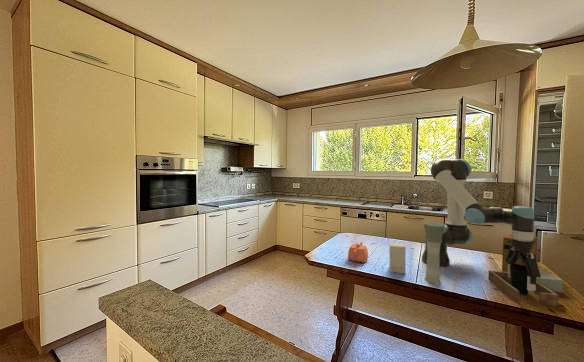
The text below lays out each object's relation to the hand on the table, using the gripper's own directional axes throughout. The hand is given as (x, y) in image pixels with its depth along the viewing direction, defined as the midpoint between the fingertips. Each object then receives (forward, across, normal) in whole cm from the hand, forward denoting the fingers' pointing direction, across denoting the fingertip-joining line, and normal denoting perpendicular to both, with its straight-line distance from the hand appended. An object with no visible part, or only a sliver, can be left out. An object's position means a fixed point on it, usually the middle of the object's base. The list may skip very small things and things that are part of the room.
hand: (520, 283), depth 114 cm
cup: (+4, 0, 0) cm, 4 cm away
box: (+4, +26, -14) cm, 30 cm away
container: (+4, +3, +37) cm, 37 cm away
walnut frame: (+4, 0, 0) cm, 4 cm away
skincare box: (+4, +11, +53) cm, 54 cm away
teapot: (+4, +24, +74) cm, 78 cm away
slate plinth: (+4, +9, -13) cm, 17 cm away
